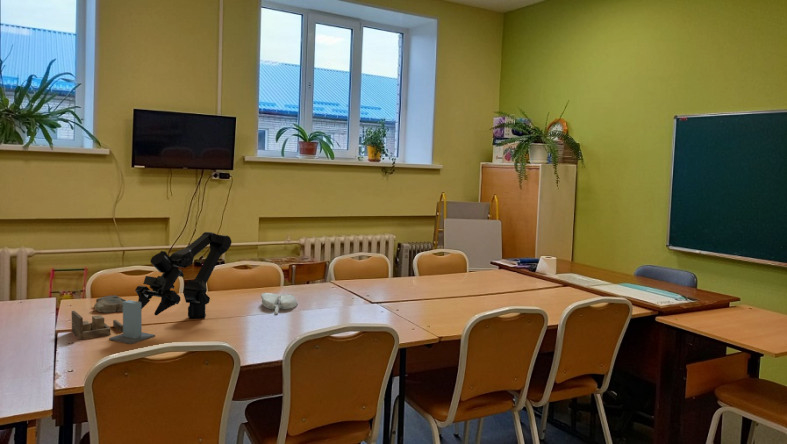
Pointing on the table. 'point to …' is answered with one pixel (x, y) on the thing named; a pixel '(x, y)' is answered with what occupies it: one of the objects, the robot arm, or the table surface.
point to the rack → (78, 328)
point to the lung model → (278, 301)
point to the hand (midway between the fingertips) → (145, 313)
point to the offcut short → (86, 326)
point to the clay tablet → (109, 304)
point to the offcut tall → (98, 322)
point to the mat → (131, 340)
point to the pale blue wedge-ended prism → (132, 319)
